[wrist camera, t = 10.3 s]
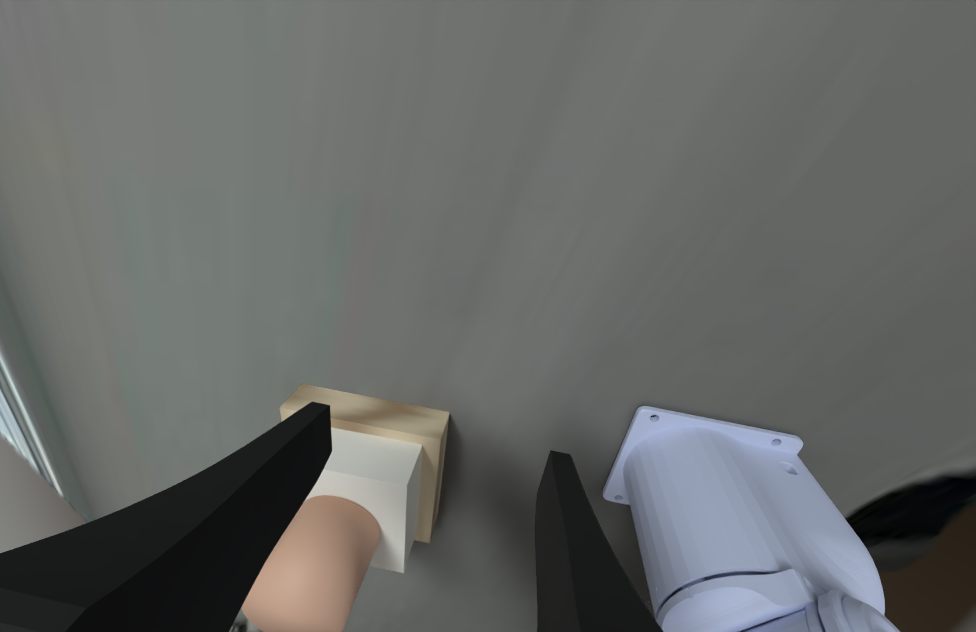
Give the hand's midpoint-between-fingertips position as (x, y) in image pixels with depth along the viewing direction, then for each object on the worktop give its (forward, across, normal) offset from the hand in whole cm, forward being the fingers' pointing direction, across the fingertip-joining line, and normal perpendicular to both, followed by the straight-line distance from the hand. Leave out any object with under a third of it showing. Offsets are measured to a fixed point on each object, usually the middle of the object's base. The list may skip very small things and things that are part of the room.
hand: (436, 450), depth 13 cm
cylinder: (+5, +6, +13) cm, 15 cm away
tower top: (+8, +6, +12) cm, 16 cm away
